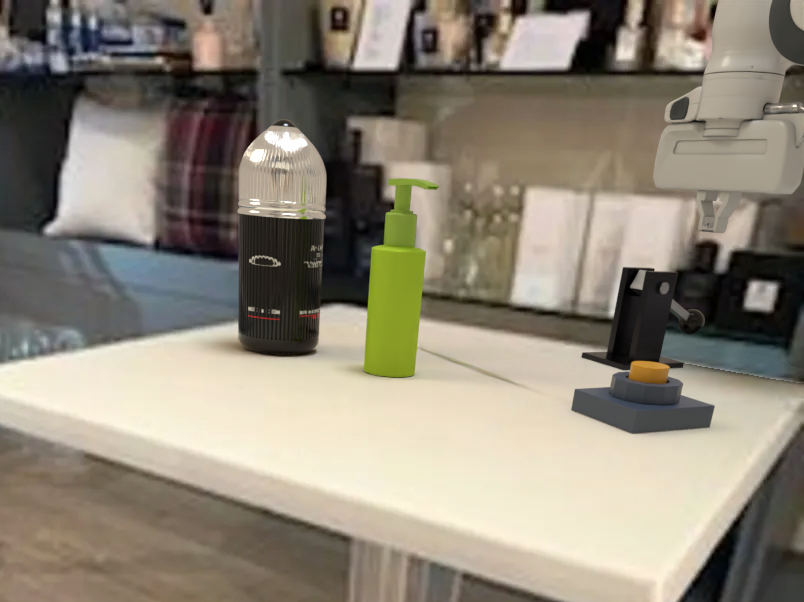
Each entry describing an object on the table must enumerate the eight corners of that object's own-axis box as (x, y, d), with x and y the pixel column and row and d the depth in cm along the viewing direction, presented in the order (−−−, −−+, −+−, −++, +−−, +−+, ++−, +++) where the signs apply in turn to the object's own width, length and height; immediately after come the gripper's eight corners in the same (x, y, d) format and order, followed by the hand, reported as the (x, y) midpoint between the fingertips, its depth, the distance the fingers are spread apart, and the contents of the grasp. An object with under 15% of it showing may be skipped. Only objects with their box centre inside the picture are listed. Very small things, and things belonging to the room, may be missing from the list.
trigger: (682, 336, 116) (695, 314, 116) (700, 341, 114) (714, 318, 113) (624, 290, 109) (638, 265, 108) (643, 293, 106) (656, 268, 106)
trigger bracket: (638, 359, 118) (657, 266, 113) (682, 372, 112) (704, 274, 106) (580, 361, 114) (597, 265, 108) (622, 374, 107) (642, 273, 102)
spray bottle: (331, 347, 111) (343, 125, 100) (301, 360, 102) (310, 118, 92) (257, 338, 114) (261, 120, 103) (222, 349, 105) (221, 113, 94)
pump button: (647, 377, 88) (651, 360, 87) (673, 386, 85) (677, 367, 84) (620, 379, 86) (623, 361, 85) (646, 387, 83) (649, 369, 83)
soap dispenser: (399, 381, 96) (416, 179, 87) (353, 369, 100) (364, 175, 91) (432, 375, 100) (451, 181, 91) (385, 364, 104) (400, 177, 95)
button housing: (645, 405, 93) (653, 367, 91) (709, 427, 86) (719, 387, 84) (570, 410, 89) (577, 370, 87) (632, 434, 81) (641, 391, 80)
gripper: (833, 103, 96) (799, 239, 102) (692, 110, 112) (671, 227, 118) (793, 98, 93) (761, 238, 99) (655, 106, 110) (635, 226, 116)
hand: (711, 232), depth 109 cm, fingers closed
